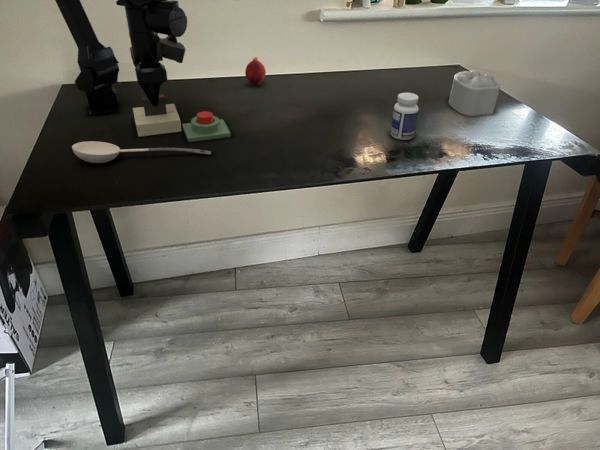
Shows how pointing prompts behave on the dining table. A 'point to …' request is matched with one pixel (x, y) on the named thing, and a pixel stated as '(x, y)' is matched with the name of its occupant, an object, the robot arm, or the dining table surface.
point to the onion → (255, 71)
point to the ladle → (115, 151)
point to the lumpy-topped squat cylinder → (474, 93)
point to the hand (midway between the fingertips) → (153, 98)
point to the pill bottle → (404, 116)
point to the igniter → (205, 130)
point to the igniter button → (205, 117)
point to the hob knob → (154, 110)
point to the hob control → (157, 121)
